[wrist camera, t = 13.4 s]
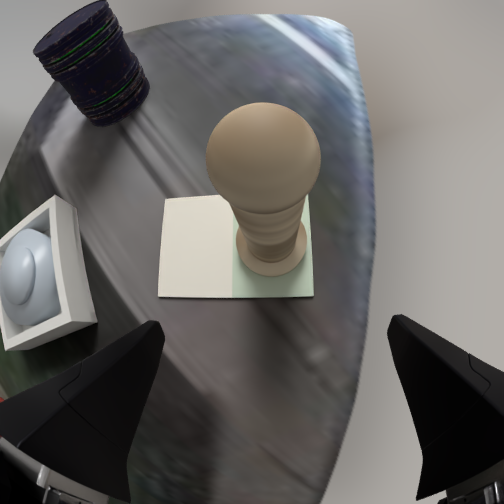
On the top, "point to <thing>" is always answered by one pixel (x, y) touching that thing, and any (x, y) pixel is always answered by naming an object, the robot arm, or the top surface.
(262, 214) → the beech pawn
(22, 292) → the dome button
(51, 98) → the top surface
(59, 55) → the dark blue cylinder
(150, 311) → the top surface
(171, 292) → the game track
